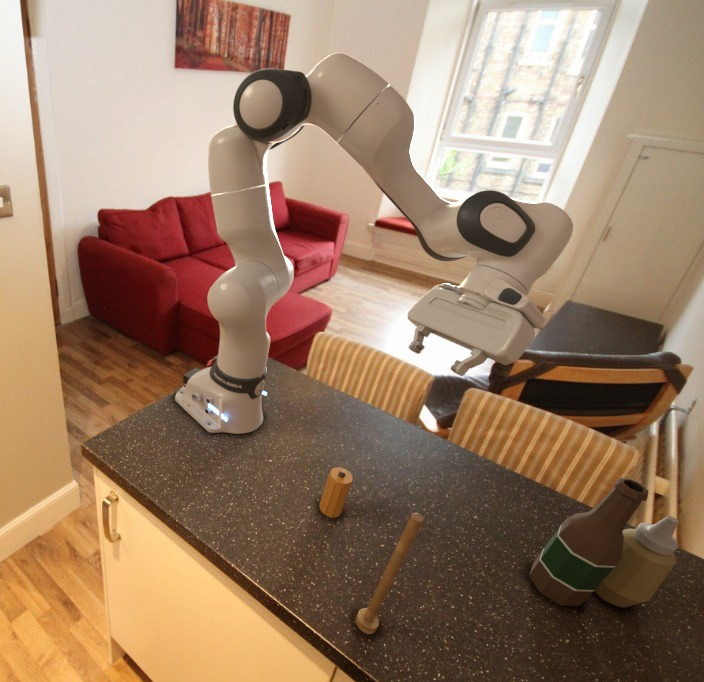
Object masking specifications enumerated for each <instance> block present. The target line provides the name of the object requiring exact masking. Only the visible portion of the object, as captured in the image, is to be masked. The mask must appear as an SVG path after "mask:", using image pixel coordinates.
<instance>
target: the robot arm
mask: <svg viewBox="0 0 704 682" xmlns="http://www.w3.org/2000/svg"><path fill="white" fill-rule="evenodd" d="M232 111H233V117H234V121H235V123H234V124H233V125H229V126H226V127H224V128H222V129H220V130H218V131H217V132H216V133H214V135H212V137H211V138H210V140H209V143H208V146H207V147H208V149H207V151H208V152H207V167H208V169H207V170H208V171H207V172H208V181H209V191H210V197H211V198H210V199H211V203H212V209H213V216H214V221H215V227H216V233H217V235H218V237H219V238H220V239H221V240H222V241H223V242H225V244H226V245H227V246H228V248H229V251H230V253H231V256H232V258H233V262H234V267H232V268H230V269H227V270H226V271H225V272H223V273H222V274H221V275H220V276H218V278H217V279H216V280H215V281H214V282H213V284H212V285H211V286H210V288H209V290H208V292H207V299H206V300H207V301H206V302H207V306H208V309H209V312H210V314H211V316H213V318H214V319H215V320H216V321H217V322H218V327H219V343H218V351H217V352H218V353H217V355H215V356H214V357H212V358H211V359H210V360H209V361H207V362H206V367H205V368H202V369H200V368H198V367H194V368H193V369H191V370H190V371H188V372H186V373H185V374H183V377H182V383H183V384H185V385H186V386H185V385H183V386H182V387H180V388H179V389H178V390H177V392H176V394H175V396H174V401H175V402H176V403H177V404H178V405H179V406H180V407H181V408H182V409H183V410H184V411H185V412H187V413H188V415H190V416H191V417H192V418H193V419H194V420H195V421H196V422H197V423H198V424H199V425H200V426H201V427H202V428H203V429H205V430H206V431H207V432H208V433H211V434H217V433H228V434H234V435H239V434H241V435H242V434H247V433H251V432H254V431H256V430H257V429H258V428H260V427H261V425H262V424H263V422H264V414H263V405H262V400H263V396H267V395H268V392H267V391H264V388H265V385H266V379H267V373H268V368H267V364H268V363H267V362H268V358H269V354H270V353H269V352H270V346H271V342H272V341H271V336H270V335H269V333H268V331H267V318H268V314H269V312H270V310H271V308H272V307H273V306H274V305H275V304H277V303H278V302H279V301H280V300H281V299H283V298H284V297H285V296H286V294H288V291H289V290H290V288H291V286H292V284H293V282H294V278H295V270H294V266H293V264H292V262H291V261H290V260H289V258H288V257H287V256H286V255H285V254H284V252H283V249H282V247H281V243H280V241H279V237H278V234H277V232H276V228H275V223H274V217H273V210H272V204H271V203H272V202H271V195H270V186H269V179H268V171H267V156H268V154H269V151H270V150H273V149H274V148H276V147H278V146H280V145H282V144H283V143H285V142H288V141H289V140H290V139H293V138H294V137H295V136H296V135H298V134H299V133H300V132H301V131H302V130H303V129H304V127H305V126H306V125H310V126H315V127H316V128H318V129H320V130H321V131H323V132H324V133H325V134H326V135H328V137H329V138H331V140H333V142H335V143H336V144H337V145H338V147H340V148H341V149H342V150H343V151H344V152H345V153H346V154H347V155H348V156H349V157H350V158H351V159H352V160H354V162H355V163H356V164H358V165H359V167H361V169H362V170H363V171H364V172H365V173H366V174H367V175H368V176H369V177H370V179H371V180H372V181H373V182H374V184H375V185H376V186H377V187H378V189H379V190H380V191H381V192H382V193H383V194H384V195H385V196H386V198H387V199H388V200H389V201H390V202H391V203H392V205H394V207H396V209H398V211H399V212H400V213H401V214H402V215H403V216H404V217H405V219H407V221H408V222H409V223H410V224H411V226H412V227H413V229H414V231H415V233H416V236H417V238H418V241H419V243H420V245H421V247H422V249H423V251H424V252H425V253H426V254H427V255H428V256H429V257H431V258H432V259H434V260H437V261H440V262H455V261H459V260H461V259H464V258H467V257H472V258H473V259H475V260H476V264H475V266H474V267H473V268H472V270H471V271H470V272H469V273H468V275H467V276H466V277H465V278H464V279H463V281H462V282H461V283H460V284H459V285H452V284H450V283H447V282H444V283H442V284H437V285H434V286H432V287H431V289H429V290H428V291H427V292H426V293H425V294H423V295H422V296H421V297H420V299H418V300H417V301H416V302H415V303H414V305H413V306H412V307H411V308H410V309H409V310H408V312H407V319H408V321H409V322H410V323H411V324H413V326H415V327H416V328H415V329H414V334H413V340H412V341H411V342H410V343H409V345H408V349H409V350H410V351H411V352H413V353H415V354H417V355H419V354H421V353H422V351H423V350H424V349H425V348H426V346H425V345H424V339H425V338H428V337H429V336H430V335H431V334H433V335H434V336H437V337H439V338H442V339H443V340H447V341H449V342H451V343H453V344H456V345H458V346H460V347H463V348H465V349H467V350H469V351H470V353H469V354H470V356H468V357H467V358H465V359H463V360H458V359H456V360H455V361H454V363H453V364H452V365H451V366H450V370H451V371H452V373H454V374H456V375H458V376H460V377H464V376H465V375H466V374H467V372H468V371H469V370H471V369H473V368H476V367H479V366H480V365H482V364H484V363H485V362H486V361H487V359H490V360H492V361H494V362H496V363H498V364H501V365H503V366H509V365H511V364H514V363H516V362H518V360H519V359H520V358H521V357H522V356H523V354H524V353H525V352H526V351H527V349H528V348H529V346H530V345H531V343H532V342H533V341H534V338H535V336H536V330H535V329H539V328H541V327H542V326H543V325H544V323H545V322H546V318H545V316H544V313H542V312H541V310H540V309H539V308H538V306H537V305H536V303H534V302H533V301H532V300H531V299H530V298H529V296H528V294H529V293H530V291H531V289H532V287H533V285H534V283H535V282H536V281H537V280H539V279H540V278H541V277H543V276H544V275H545V274H546V273H547V272H548V271H549V270H550V268H551V267H552V266H553V265H554V263H555V262H556V261H557V260H558V258H559V257H560V256H561V254H562V253H563V252H564V250H565V248H566V247H567V246H568V244H569V242H570V239H571V238H572V236H573V231H574V223H573V219H571V217H570V215H569V214H568V213H567V212H566V211H565V210H564V209H562V208H561V207H559V206H558V205H555V204H554V203H551V202H547V201H537V202H536V201H535V202H529V201H522V200H518V199H514V198H512V197H510V196H509V195H507V194H505V193H504V192H502V191H498V190H492V189H491V190H490V189H487V190H481V191H478V192H475V193H472V194H471V195H468V196H466V197H464V198H461V199H459V200H457V201H456V202H450V201H447V200H445V199H443V198H442V197H441V196H440V195H439V194H438V193H437V192H436V190H435V189H434V188H433V187H432V185H430V183H428V181H427V180H426V179H425V178H424V177H423V175H421V173H420V172H419V171H418V170H417V168H416V167H415V165H414V162H413V157H412V148H413V142H414V138H415V133H416V116H415V113H414V111H413V110H412V107H410V105H409V104H408V101H407V100H406V99H405V98H404V97H403V96H402V94H400V92H399V91H397V90H396V89H395V88H394V87H393V86H392V85H390V83H388V82H387V80H385V79H384V78H383V77H382V76H381V75H379V74H378V73H377V72H376V71H375V70H373V69H372V68H371V67H369V66H367V65H366V64H365V63H363V62H362V61H360V60H358V59H357V58H354V57H353V56H351V55H349V54H347V53H346V52H334V53H331V54H329V55H327V56H326V57H324V58H323V59H321V60H320V61H319V62H318V63H317V64H316V65H315V66H314V67H313V68H312V69H311V71H310V72H309V73H308V74H307V75H305V73H304V72H302V71H297V70H291V69H290V70H289V69H283V68H276V67H266V68H260V69H258V70H255V71H254V72H253V71H252V73H250V74H249V75H247V76H246V77H245V78H244V79H243V80H242V81H241V83H239V85H238V87H237V89H236V91H235V94H234V98H233V103H232ZM184 386H185V387H184Z"/></svg>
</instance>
